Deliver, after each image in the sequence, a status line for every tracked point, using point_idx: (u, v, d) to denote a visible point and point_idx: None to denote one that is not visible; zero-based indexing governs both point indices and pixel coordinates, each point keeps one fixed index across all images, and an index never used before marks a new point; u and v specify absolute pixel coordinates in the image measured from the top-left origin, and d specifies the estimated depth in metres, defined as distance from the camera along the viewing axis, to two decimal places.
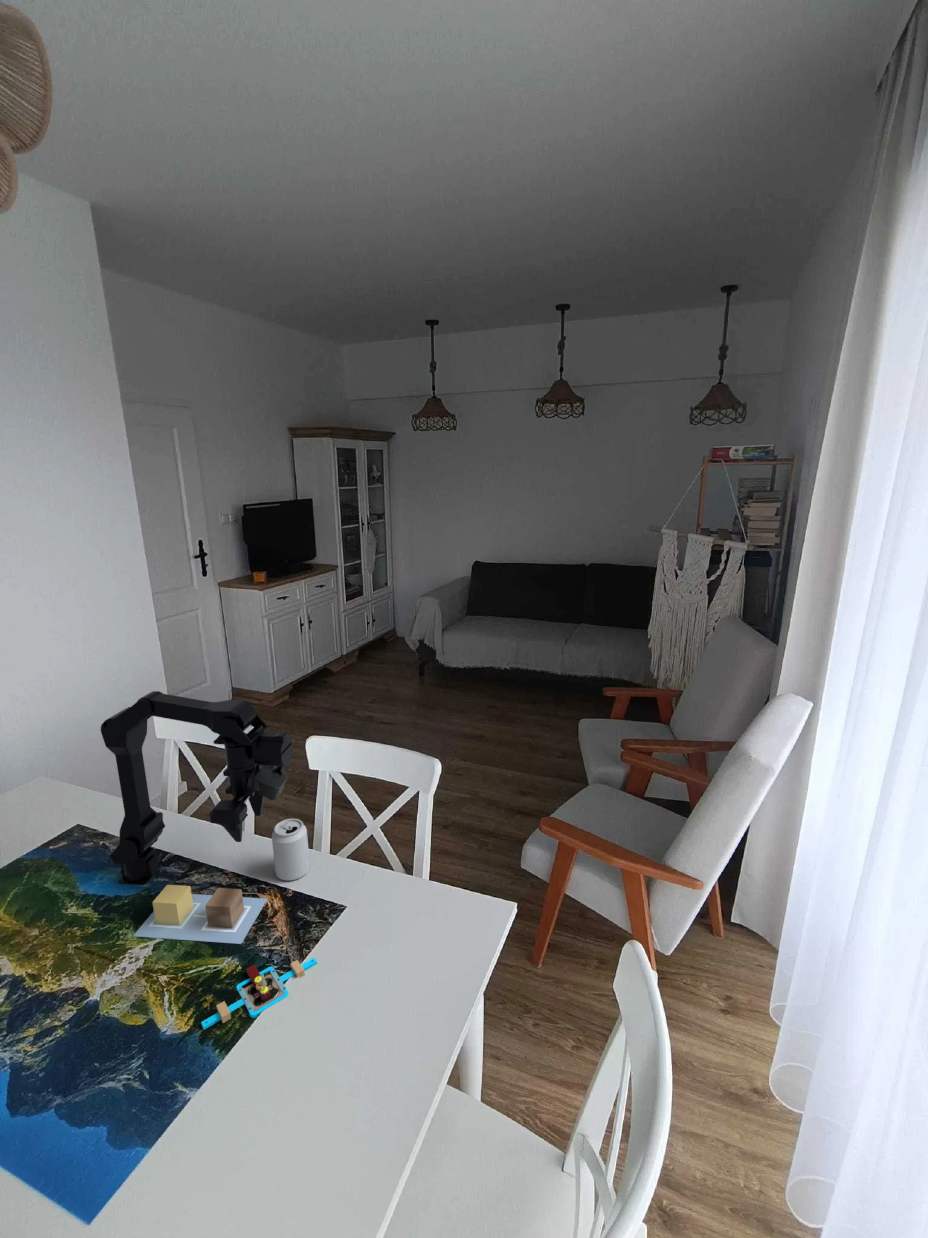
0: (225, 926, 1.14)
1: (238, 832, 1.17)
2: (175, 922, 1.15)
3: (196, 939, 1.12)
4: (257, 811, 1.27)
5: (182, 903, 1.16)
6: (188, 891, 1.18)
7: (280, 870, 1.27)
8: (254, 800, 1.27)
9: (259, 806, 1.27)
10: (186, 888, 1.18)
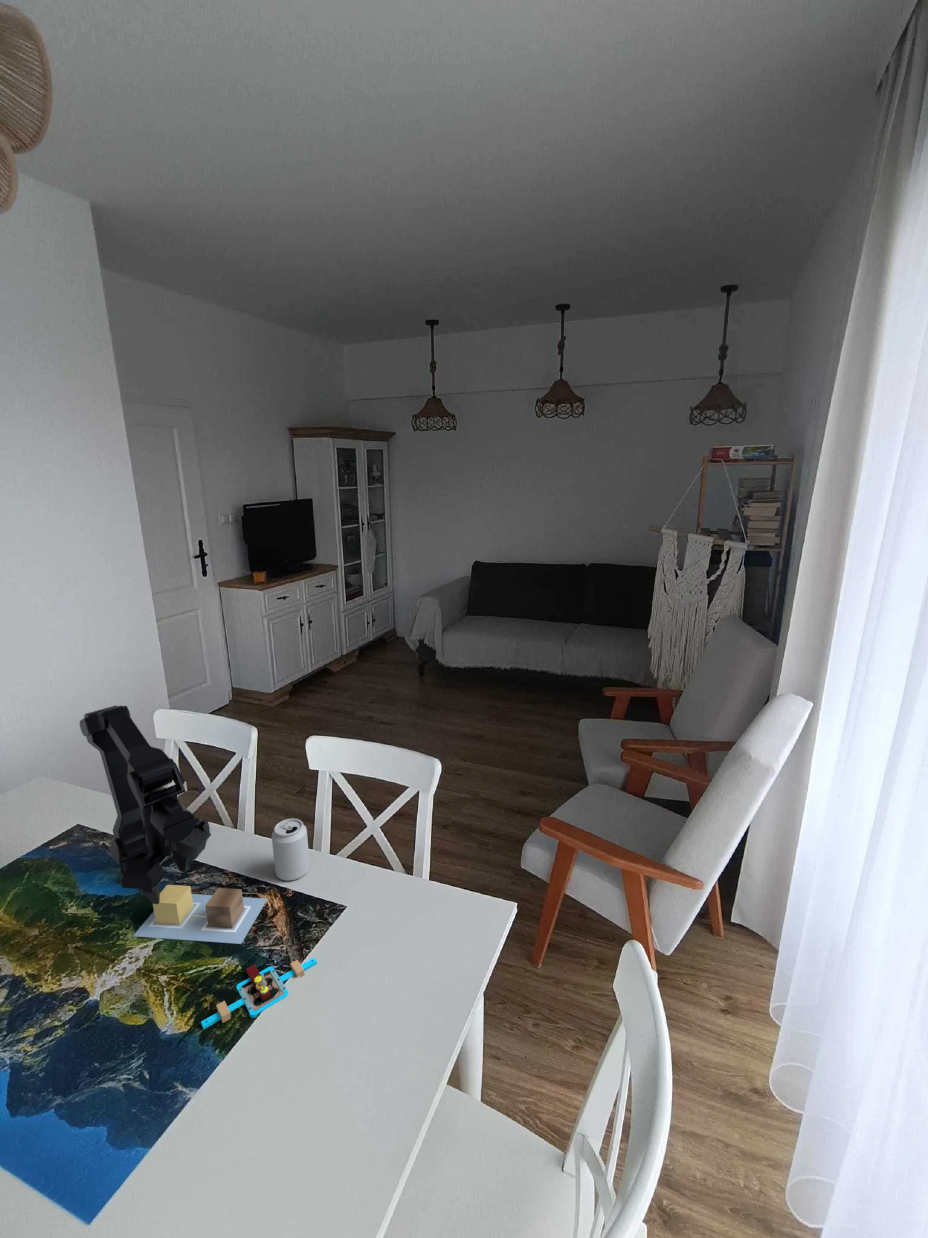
0: (225, 926, 1.14)
1: (154, 895, 1.10)
2: (175, 922, 1.15)
3: (196, 939, 1.12)
4: (181, 867, 1.20)
5: (182, 903, 1.16)
6: (188, 891, 1.18)
7: (280, 870, 1.27)
8: (178, 855, 1.20)
9: (184, 862, 1.20)
10: (186, 888, 1.18)
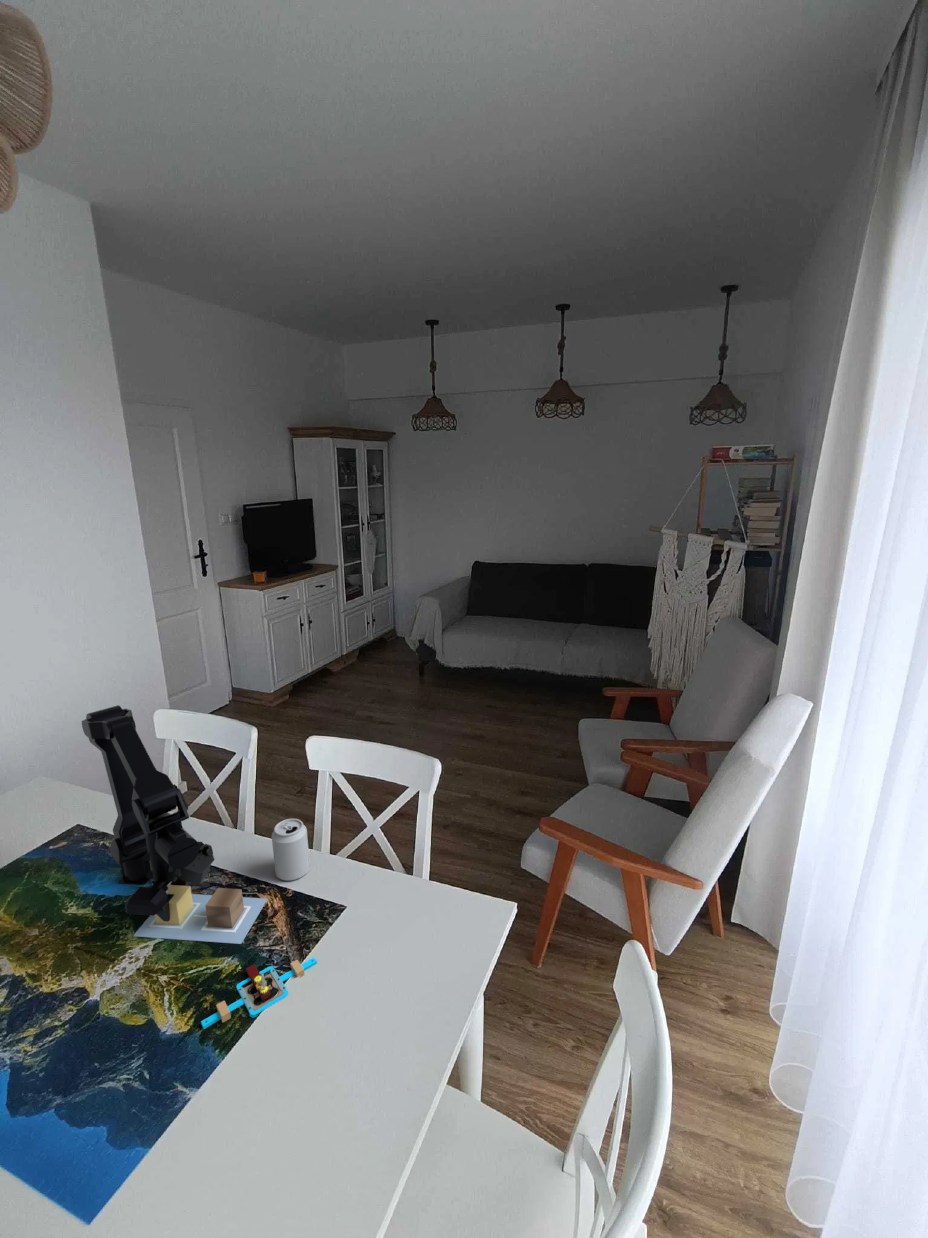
0: (225, 926, 1.14)
1: (165, 912, 1.13)
2: (175, 922, 1.15)
3: (196, 939, 1.12)
4: None
5: (182, 903, 1.16)
6: (188, 891, 1.18)
7: (280, 870, 1.27)
8: None
9: None
10: (186, 888, 1.18)
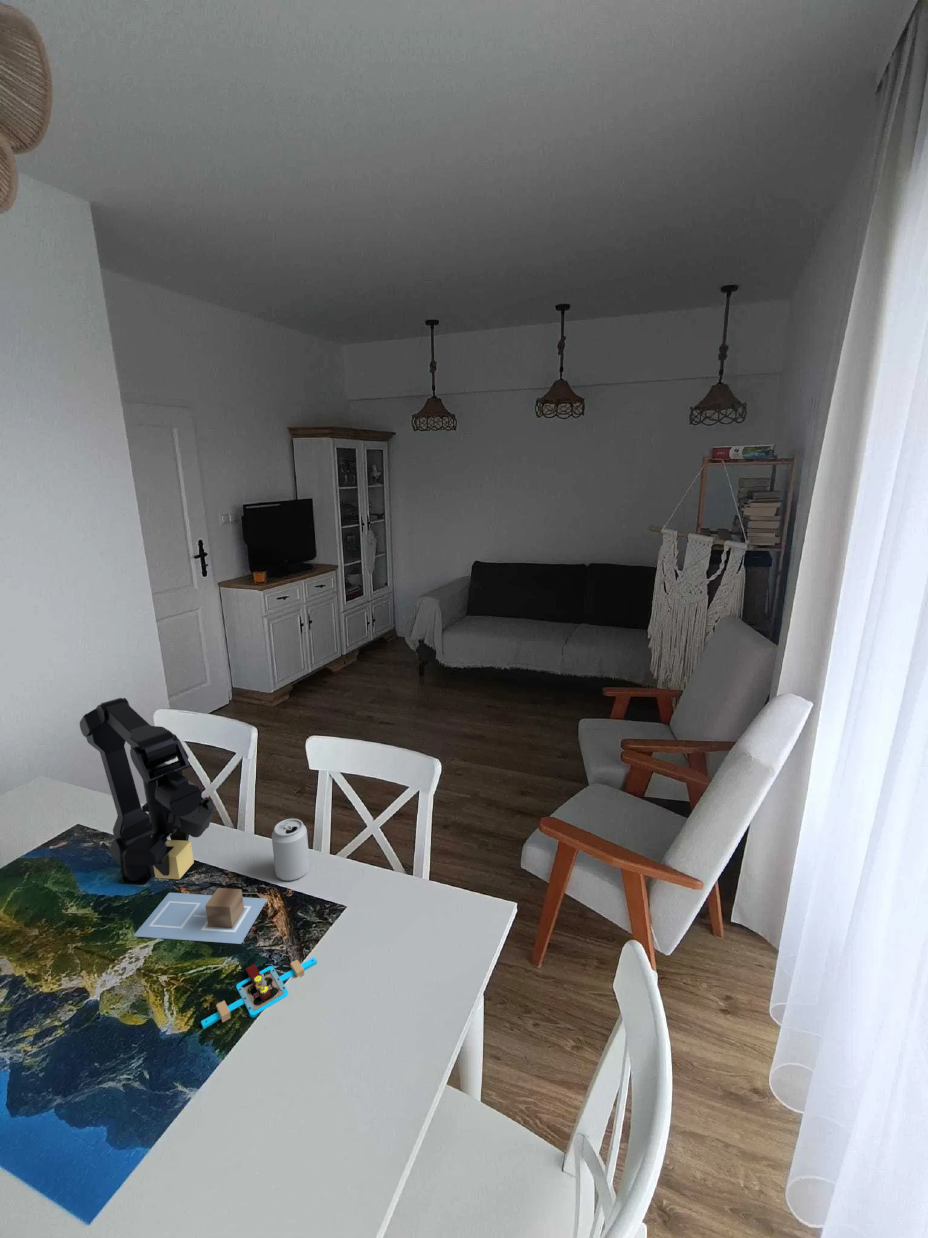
0: (225, 926, 1.14)
1: (164, 866, 1.10)
2: (174, 876, 1.12)
3: (196, 939, 1.12)
4: None
5: (182, 857, 1.13)
6: (188, 846, 1.15)
7: (280, 870, 1.27)
8: None
9: None
10: (186, 842, 1.15)
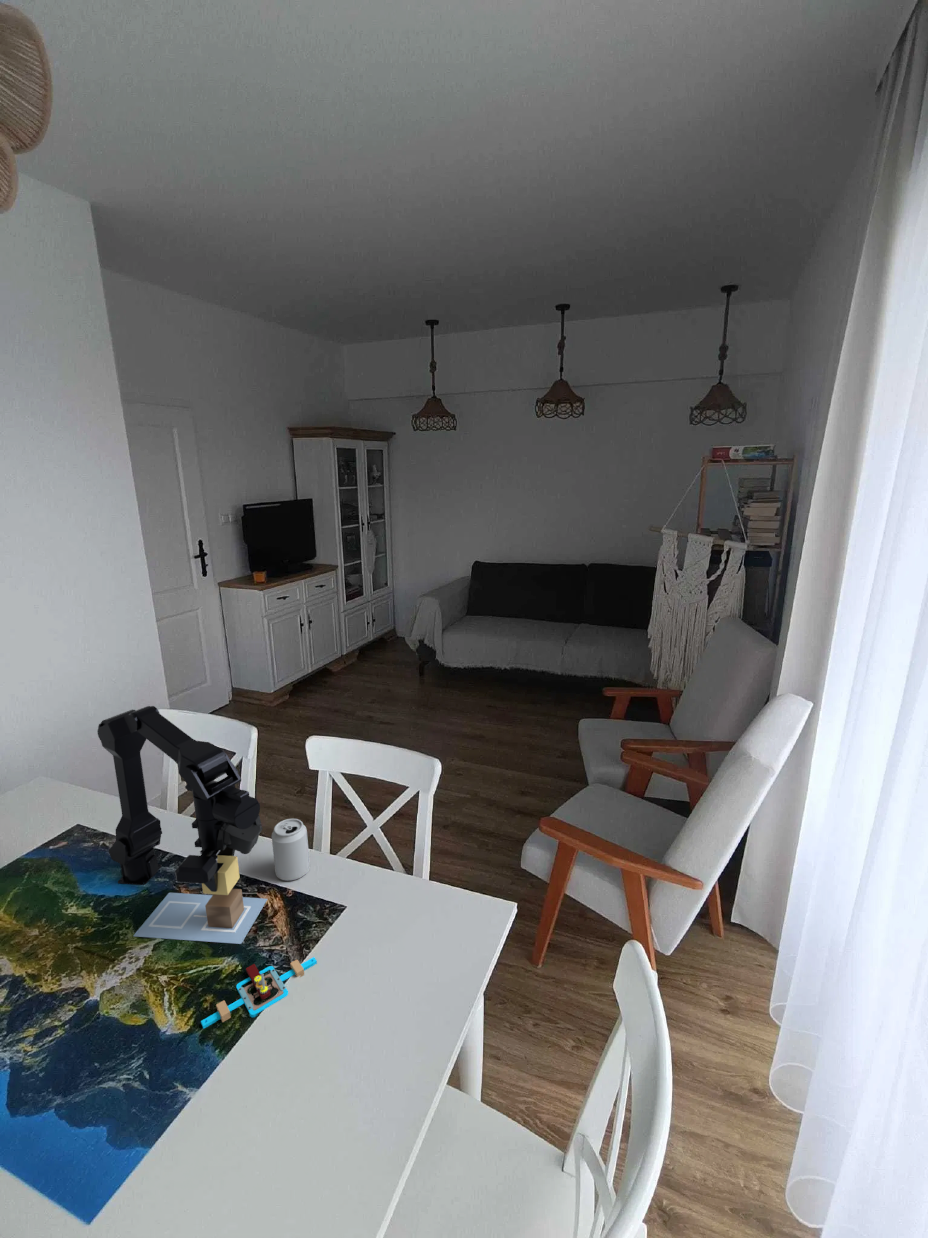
0: (225, 926, 1.14)
1: (213, 882, 1.10)
2: (222, 892, 1.12)
3: (196, 939, 1.12)
4: None
5: (230, 873, 1.13)
6: (235, 861, 1.15)
7: (280, 870, 1.27)
8: None
9: None
10: (233, 858, 1.15)
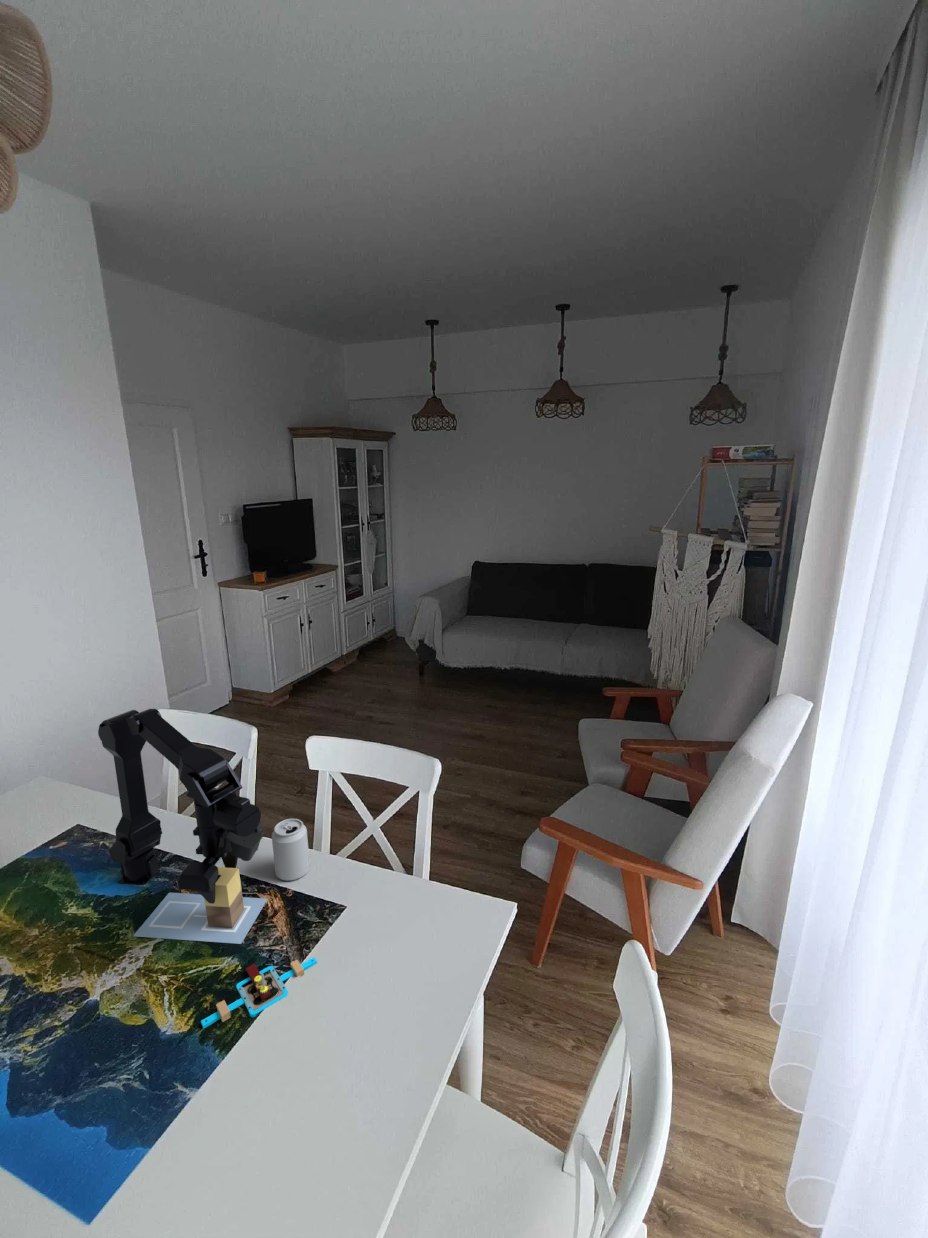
0: (225, 926, 1.14)
1: (211, 894, 1.10)
2: (224, 904, 1.13)
3: (196, 939, 1.12)
4: None
5: (232, 885, 1.14)
6: (237, 873, 1.16)
7: (280, 870, 1.27)
8: (227, 859, 1.18)
9: (233, 865, 1.18)
10: (234, 870, 1.16)
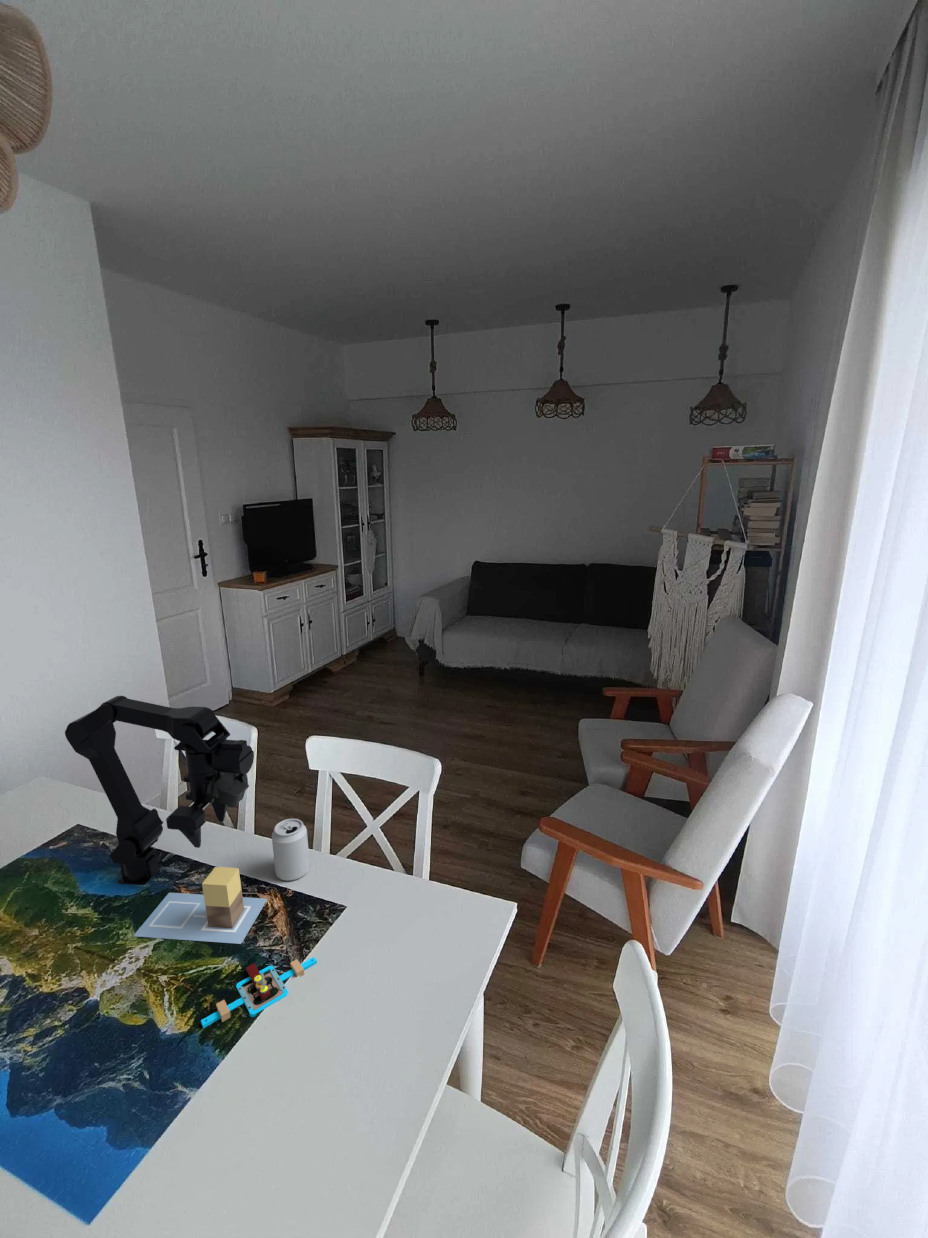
0: (225, 926, 1.14)
1: (196, 838, 1.18)
2: (224, 904, 1.13)
3: (196, 939, 1.12)
4: (220, 817, 1.28)
5: (232, 885, 1.14)
6: (237, 873, 1.16)
7: (280, 870, 1.27)
8: (217, 806, 1.28)
9: (222, 812, 1.28)
10: (234, 870, 1.16)
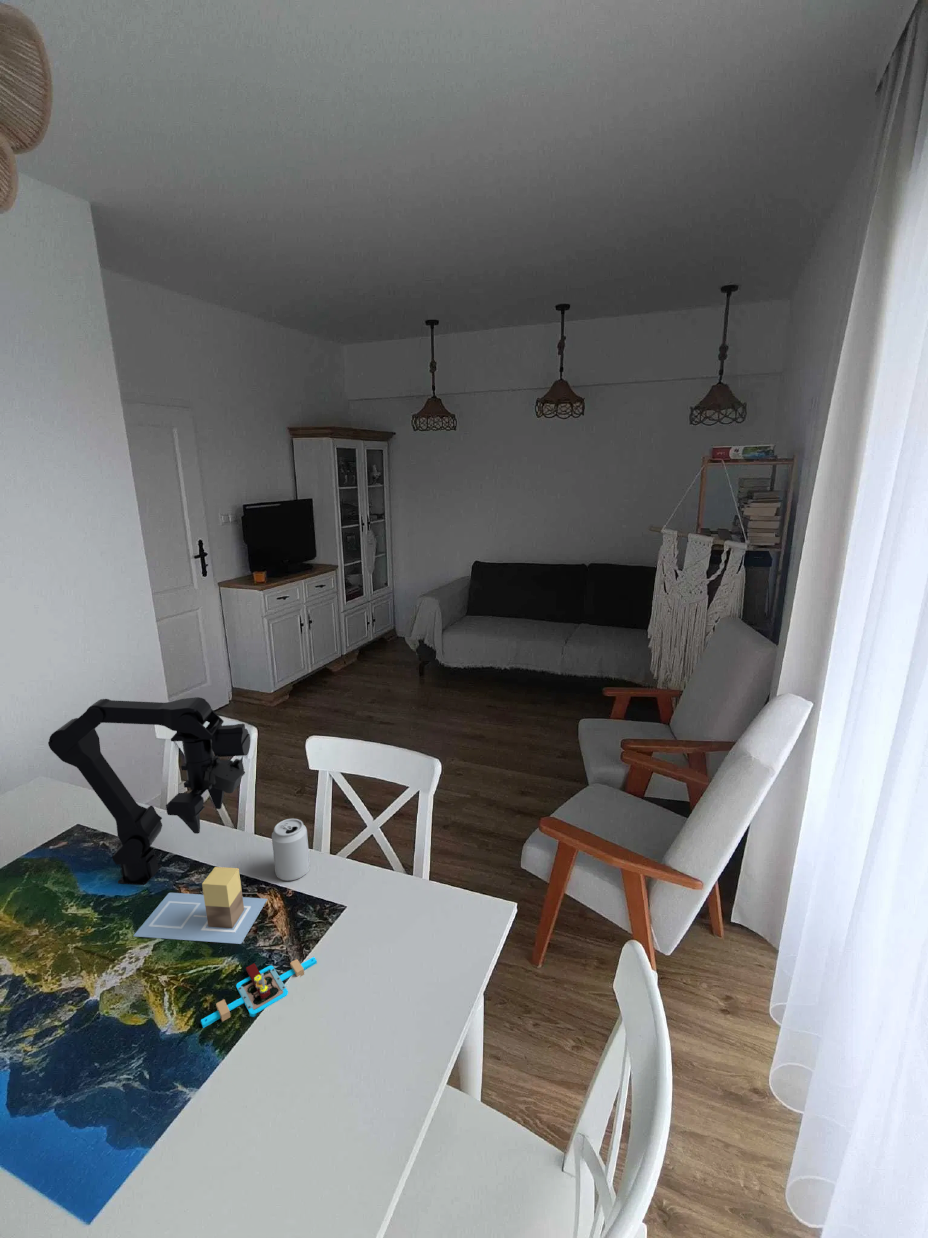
0: (225, 926, 1.14)
1: (196, 824, 1.22)
2: (224, 904, 1.13)
3: (196, 939, 1.12)
4: (217, 804, 1.32)
5: (232, 885, 1.14)
6: (237, 873, 1.16)
7: (280, 870, 1.27)
8: (214, 794, 1.32)
9: (219, 799, 1.32)
10: (234, 870, 1.16)
